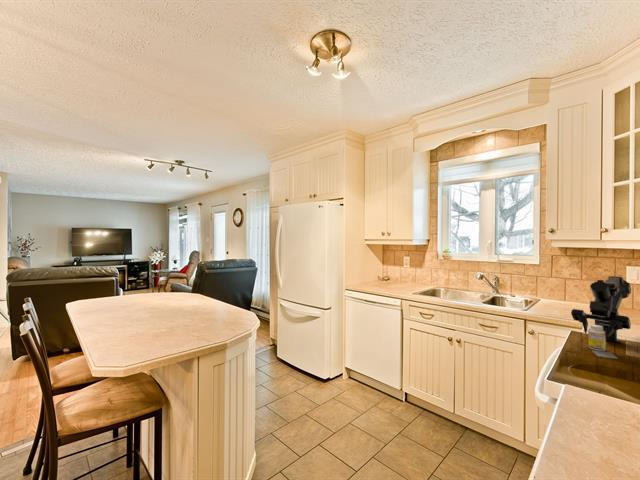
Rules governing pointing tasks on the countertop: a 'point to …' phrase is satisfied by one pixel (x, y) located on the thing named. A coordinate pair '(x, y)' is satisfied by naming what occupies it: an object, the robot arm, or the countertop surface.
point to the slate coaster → (604, 354)
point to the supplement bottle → (597, 338)
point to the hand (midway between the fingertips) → (596, 334)
